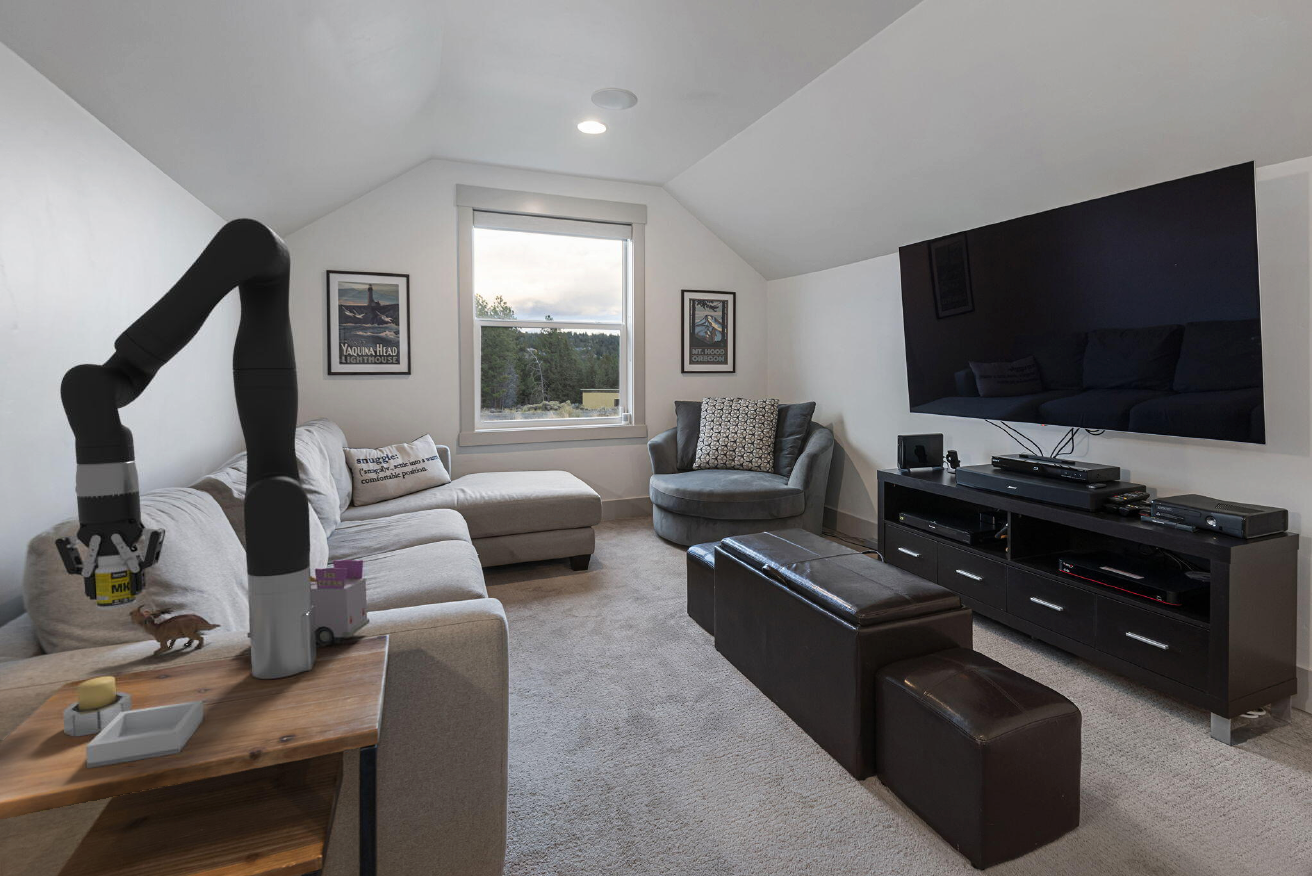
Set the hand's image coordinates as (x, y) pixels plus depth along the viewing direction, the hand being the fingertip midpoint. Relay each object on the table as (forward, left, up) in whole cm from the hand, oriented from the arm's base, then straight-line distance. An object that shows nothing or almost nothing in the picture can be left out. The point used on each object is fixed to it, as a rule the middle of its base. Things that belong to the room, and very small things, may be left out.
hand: (116, 595), depth 102 cm
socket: (-2, +13, -15) cm, 20 cm away
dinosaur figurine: (-2, -17, -15) cm, 23 cm away
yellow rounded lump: (-2, +13, -12) cm, 18 cm away
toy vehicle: (-25, -13, -15) cm, 32 cm away
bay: (-11, +22, -15) cm, 29 cm away
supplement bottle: (0, 0, -2) cm, 2 cm away
